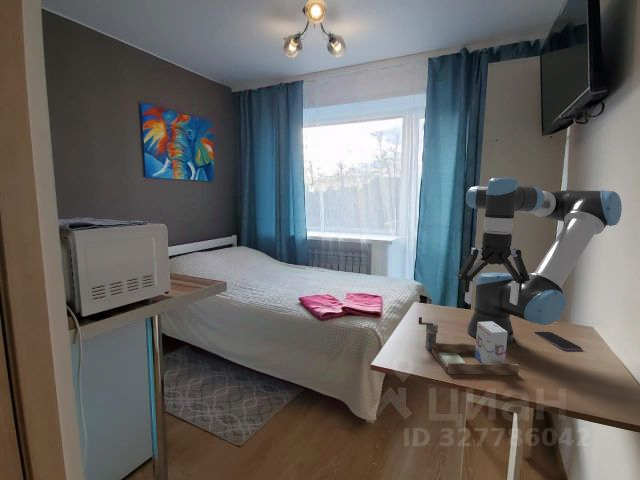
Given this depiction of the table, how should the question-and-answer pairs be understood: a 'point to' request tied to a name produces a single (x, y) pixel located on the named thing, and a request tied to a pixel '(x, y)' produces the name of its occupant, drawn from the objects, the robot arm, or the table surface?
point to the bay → (454, 362)
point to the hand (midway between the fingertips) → (490, 303)
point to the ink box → (490, 343)
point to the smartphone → (558, 341)
